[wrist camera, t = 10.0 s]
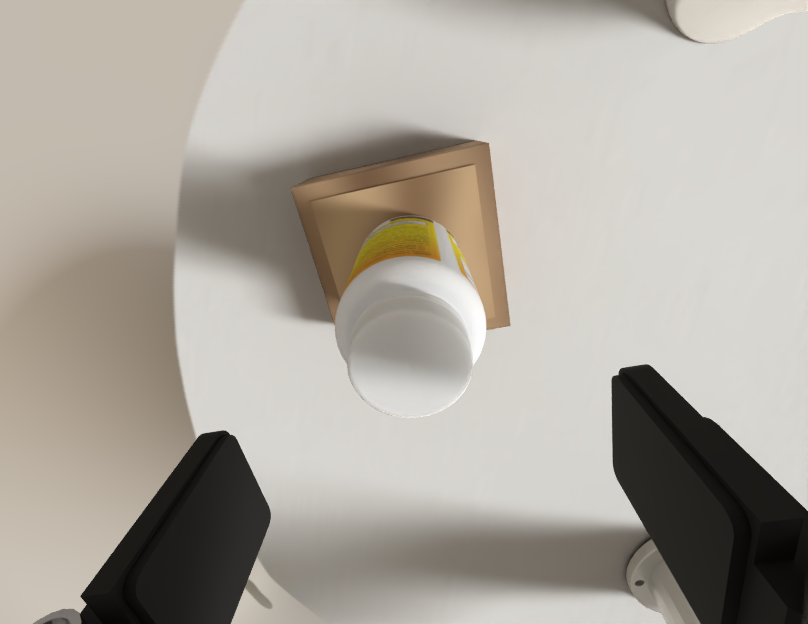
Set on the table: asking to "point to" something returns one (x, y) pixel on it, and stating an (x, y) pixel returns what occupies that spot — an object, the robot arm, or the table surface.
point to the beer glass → (727, 16)
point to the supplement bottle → (410, 319)
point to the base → (403, 196)
